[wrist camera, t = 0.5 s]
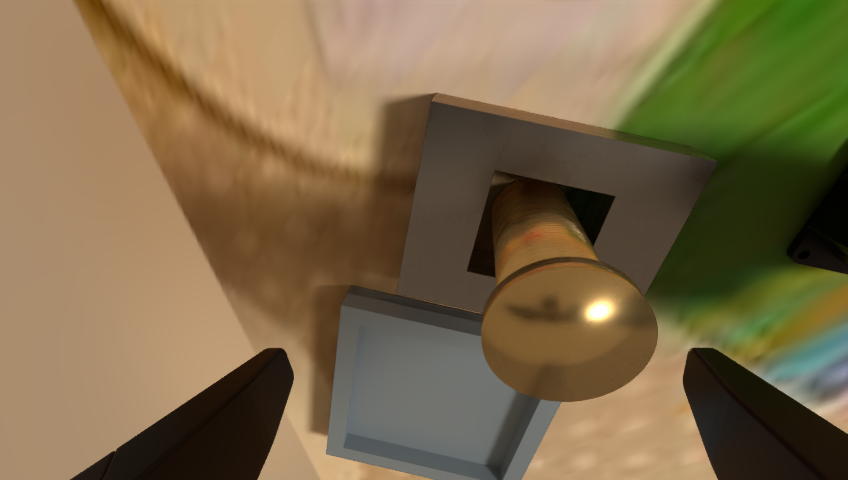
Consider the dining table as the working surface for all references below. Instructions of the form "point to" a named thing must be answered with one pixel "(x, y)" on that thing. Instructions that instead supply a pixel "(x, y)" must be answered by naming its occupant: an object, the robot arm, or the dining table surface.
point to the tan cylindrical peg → (559, 303)
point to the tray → (426, 394)
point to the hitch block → (549, 161)
